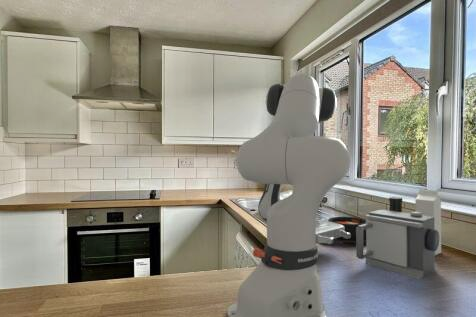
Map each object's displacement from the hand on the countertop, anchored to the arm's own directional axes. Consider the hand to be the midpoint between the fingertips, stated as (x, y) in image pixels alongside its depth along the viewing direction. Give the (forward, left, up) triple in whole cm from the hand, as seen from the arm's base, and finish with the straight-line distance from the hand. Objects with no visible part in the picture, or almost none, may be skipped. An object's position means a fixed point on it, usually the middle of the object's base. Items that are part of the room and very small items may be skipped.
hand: (341, 238), depth 96 cm
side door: (+3, -11, -6) cm, 13 cm away
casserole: (+24, +13, -8) cm, 29 cm away
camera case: (+11, -14, -8) cm, 19 cm away
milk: (+33, -13, -8) cm, 37 cm away
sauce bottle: (+22, -7, -8) cm, 25 cm away
